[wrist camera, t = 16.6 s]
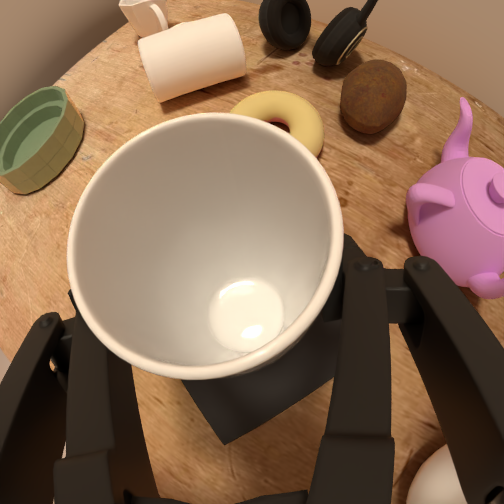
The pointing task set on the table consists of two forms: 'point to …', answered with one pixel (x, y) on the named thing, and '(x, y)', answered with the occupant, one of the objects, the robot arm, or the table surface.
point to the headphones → (299, 22)
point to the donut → (286, 115)
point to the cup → (146, 15)
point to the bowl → (38, 139)
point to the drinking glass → (205, 246)
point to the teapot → (461, 214)
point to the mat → (268, 384)
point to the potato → (373, 96)
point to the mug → (192, 56)
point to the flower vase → (436, 481)
